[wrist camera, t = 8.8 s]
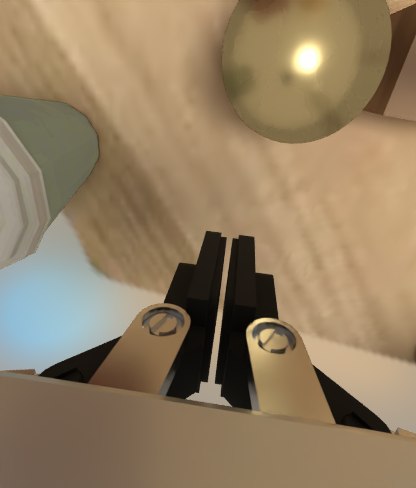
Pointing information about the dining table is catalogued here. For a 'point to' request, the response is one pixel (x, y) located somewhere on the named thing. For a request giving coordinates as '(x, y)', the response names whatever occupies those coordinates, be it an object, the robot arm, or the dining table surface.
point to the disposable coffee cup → (39, 169)
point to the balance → (304, 64)
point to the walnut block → (399, 70)
